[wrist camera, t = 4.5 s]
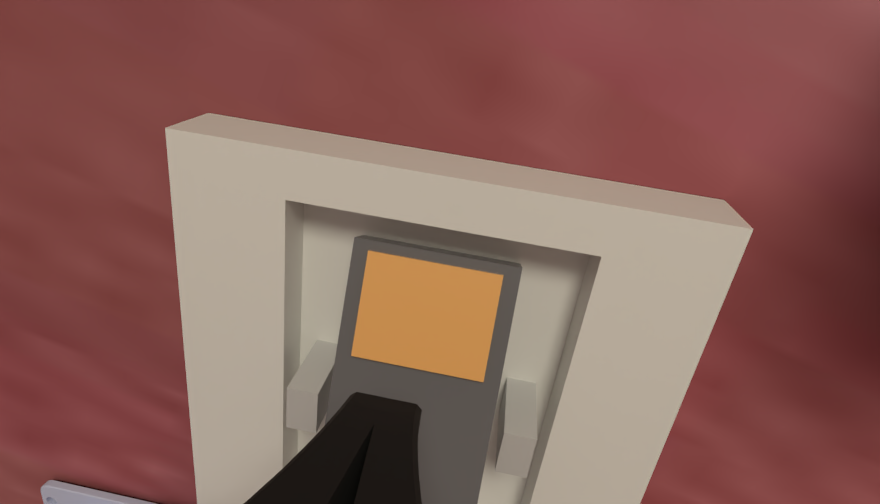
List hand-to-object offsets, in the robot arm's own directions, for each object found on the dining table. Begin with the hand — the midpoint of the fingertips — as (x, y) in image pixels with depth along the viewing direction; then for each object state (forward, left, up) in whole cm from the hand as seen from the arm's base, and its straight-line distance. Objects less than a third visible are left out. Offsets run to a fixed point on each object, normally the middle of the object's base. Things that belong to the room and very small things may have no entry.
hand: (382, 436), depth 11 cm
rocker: (-4, 0, -6) cm, 7 cm away
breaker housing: (-4, 0, -8) cm, 9 cm away
